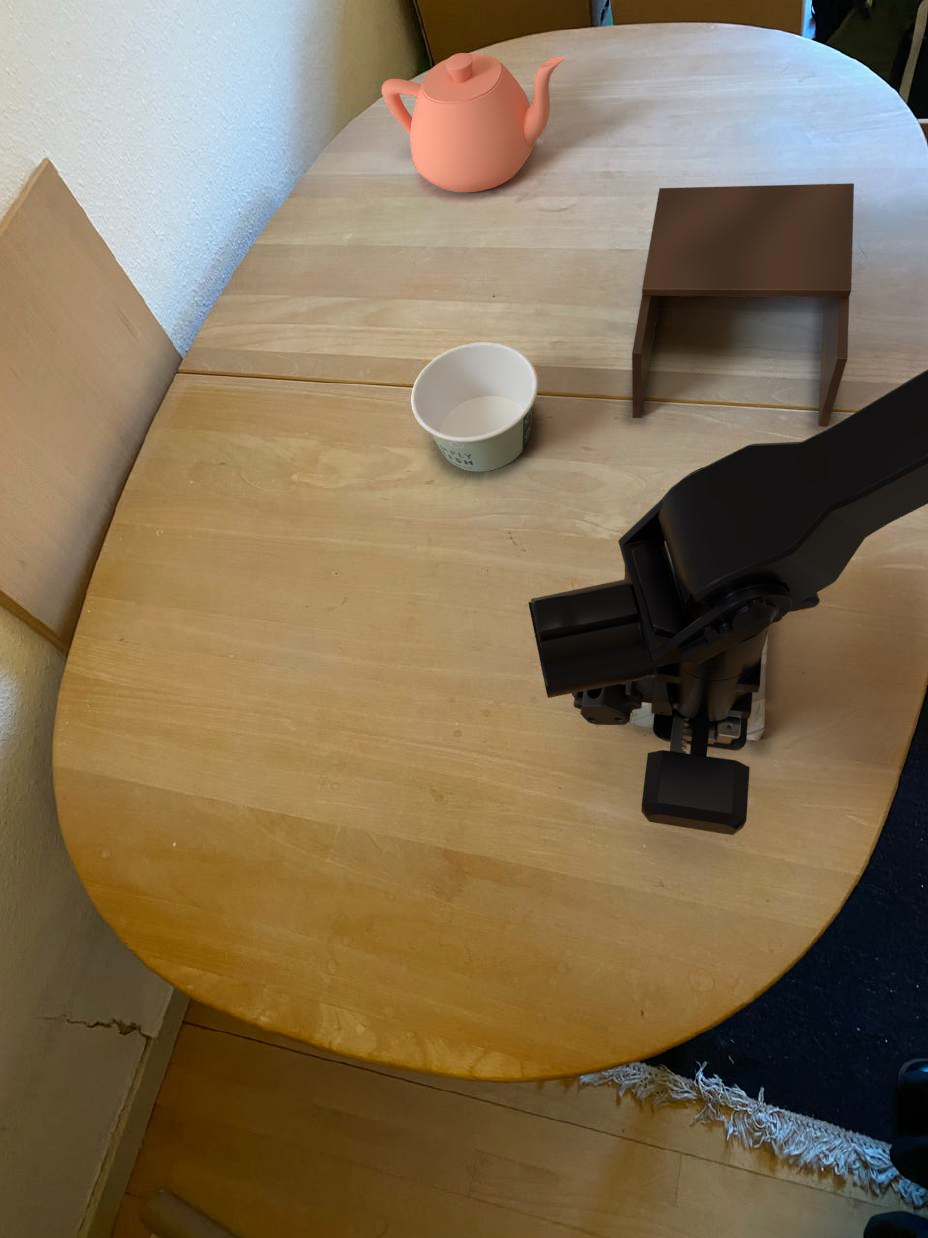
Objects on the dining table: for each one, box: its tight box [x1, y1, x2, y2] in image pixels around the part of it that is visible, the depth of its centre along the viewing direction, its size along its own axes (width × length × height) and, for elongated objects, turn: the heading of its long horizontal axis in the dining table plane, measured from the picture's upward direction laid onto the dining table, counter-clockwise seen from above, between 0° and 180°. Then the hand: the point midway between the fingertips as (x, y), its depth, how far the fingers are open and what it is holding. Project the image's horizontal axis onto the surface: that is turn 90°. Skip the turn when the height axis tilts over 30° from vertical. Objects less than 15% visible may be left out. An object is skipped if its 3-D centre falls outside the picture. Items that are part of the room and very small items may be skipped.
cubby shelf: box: [631, 182, 855, 427], centre depth 79 cm, size 18×21×9 cm
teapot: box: [381, 52, 565, 193], centre depth 98 cm, size 22×15×12 cm
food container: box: [410, 341, 539, 473], centre depth 80 cm, size 12×12×6 cm
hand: (695, 730), depth 62 cm, fingers closed
